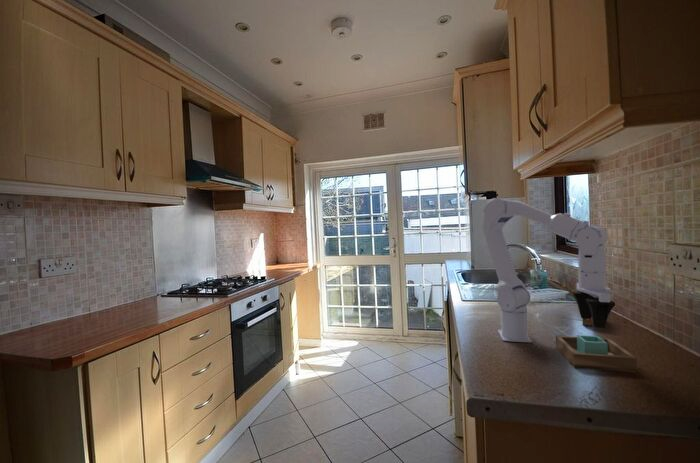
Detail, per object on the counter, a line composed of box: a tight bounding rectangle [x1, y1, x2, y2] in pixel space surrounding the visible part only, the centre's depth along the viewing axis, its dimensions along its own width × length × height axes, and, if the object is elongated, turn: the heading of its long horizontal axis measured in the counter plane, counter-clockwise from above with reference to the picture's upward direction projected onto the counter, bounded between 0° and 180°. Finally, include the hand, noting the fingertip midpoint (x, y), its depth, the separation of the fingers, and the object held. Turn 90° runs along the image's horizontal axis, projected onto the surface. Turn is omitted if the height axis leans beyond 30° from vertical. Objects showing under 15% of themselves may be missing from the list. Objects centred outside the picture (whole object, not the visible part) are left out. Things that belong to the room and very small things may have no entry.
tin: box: [582, 317, 593, 327], centre depth 114 cm, size 15×3×8 cm, turn 141°
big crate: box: [555, 335, 638, 374], centre depth 85 cm, size 13×13×4 cm
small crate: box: [576, 334, 608, 355], centre depth 85 cm, size 5×5×4 cm
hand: (592, 322), depth 86 cm, fingers open, 7 cm apart
